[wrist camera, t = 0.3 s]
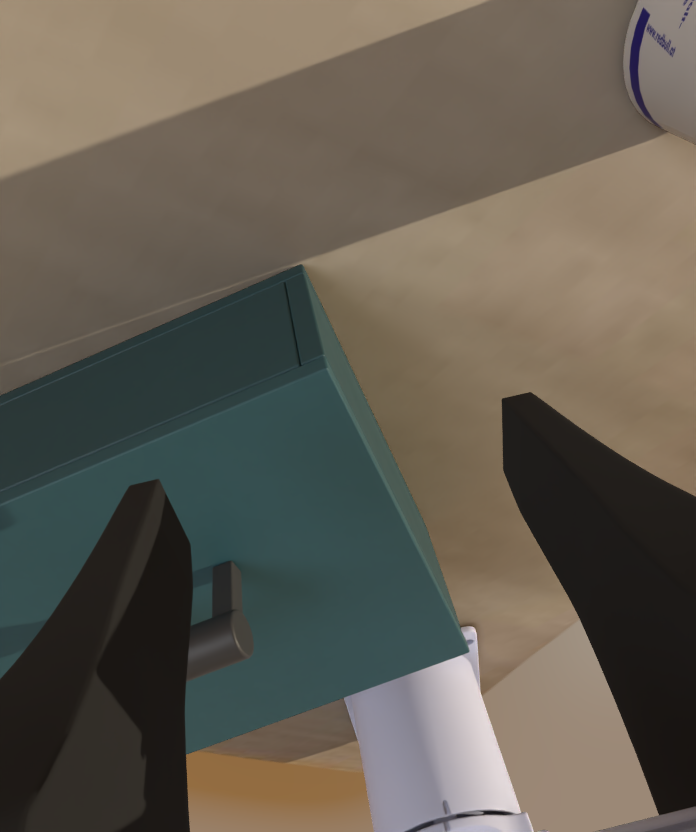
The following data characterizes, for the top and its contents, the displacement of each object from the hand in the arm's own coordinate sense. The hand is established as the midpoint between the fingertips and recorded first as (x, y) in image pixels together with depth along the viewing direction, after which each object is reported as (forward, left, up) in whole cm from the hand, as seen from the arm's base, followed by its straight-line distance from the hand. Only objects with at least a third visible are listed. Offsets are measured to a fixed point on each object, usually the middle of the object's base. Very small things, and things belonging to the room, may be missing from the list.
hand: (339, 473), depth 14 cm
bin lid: (-9, +6, -4) cm, 11 cm away
